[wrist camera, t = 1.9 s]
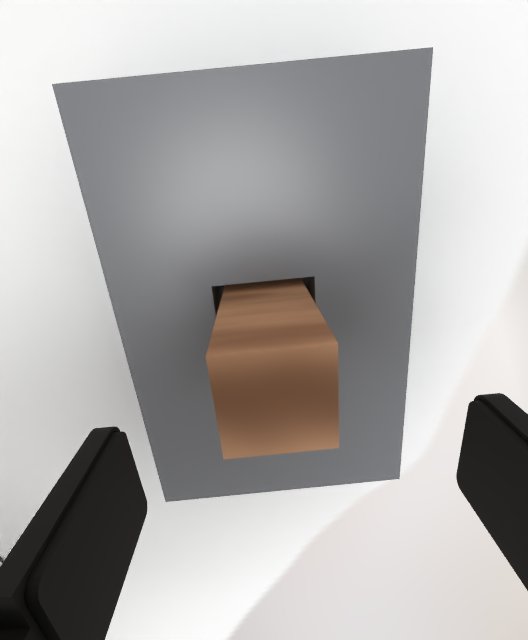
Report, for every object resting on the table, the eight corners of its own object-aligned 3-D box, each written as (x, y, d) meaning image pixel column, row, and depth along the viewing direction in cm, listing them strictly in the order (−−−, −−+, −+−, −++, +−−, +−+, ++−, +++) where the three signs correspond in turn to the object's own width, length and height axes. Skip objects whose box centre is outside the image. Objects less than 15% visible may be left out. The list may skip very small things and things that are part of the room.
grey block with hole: (369, 421, 28) (399, 478, 23) (182, 440, 28) (165, 501, 23) (380, 88, 19) (433, 47, 14) (109, 114, 19) (52, 84, 14)
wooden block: (295, 321, 25) (339, 448, 13) (236, 327, 25) (223, 459, 13) (292, 263, 23) (338, 343, 11) (229, 269, 23) (205, 356, 11)
